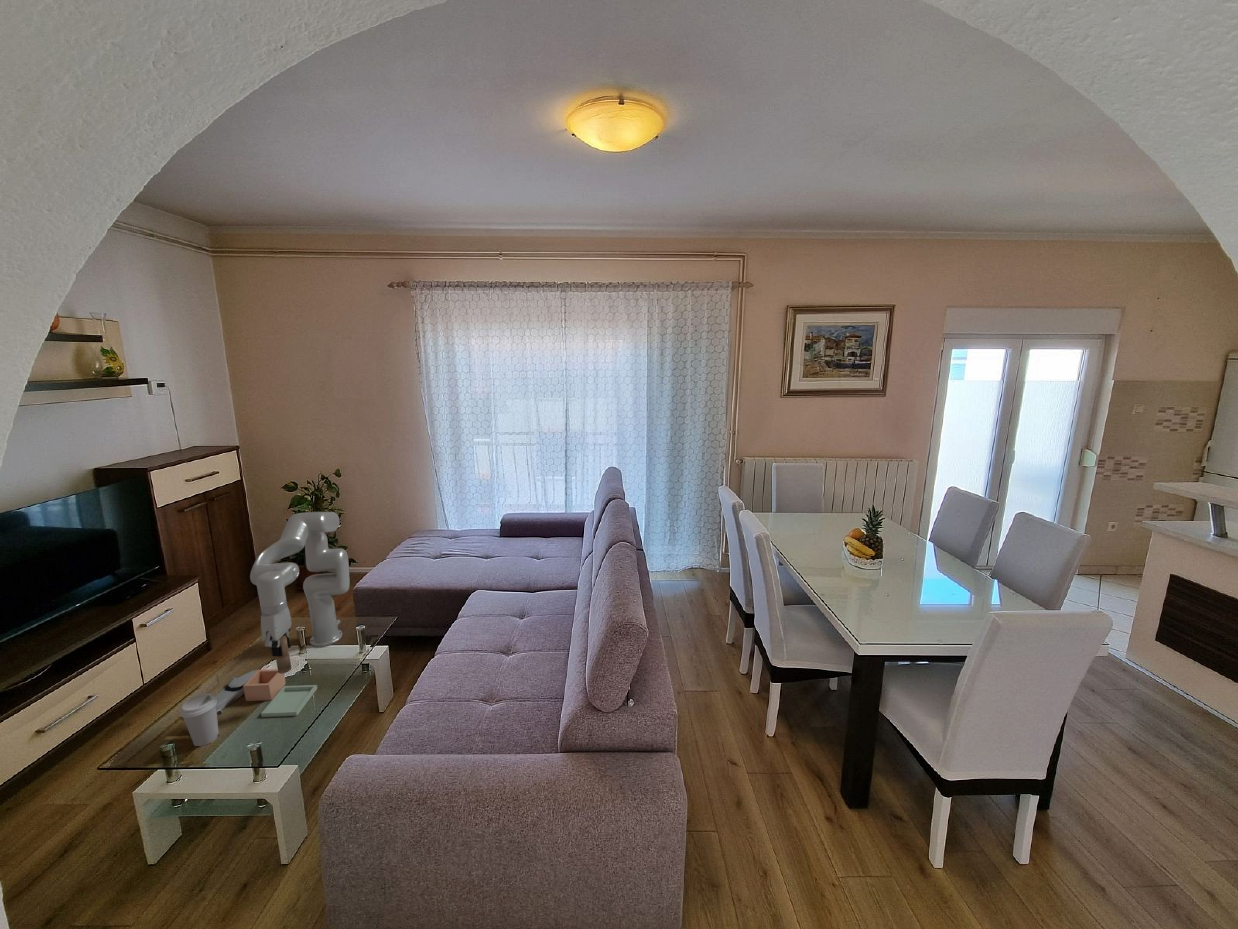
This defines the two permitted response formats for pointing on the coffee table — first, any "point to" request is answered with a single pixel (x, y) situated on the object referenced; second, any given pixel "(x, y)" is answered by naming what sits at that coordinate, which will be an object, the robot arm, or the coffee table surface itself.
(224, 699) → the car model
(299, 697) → the tray
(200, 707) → the coffee cup
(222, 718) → the coffee table surface
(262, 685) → the pink storage bin
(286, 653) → the peg
